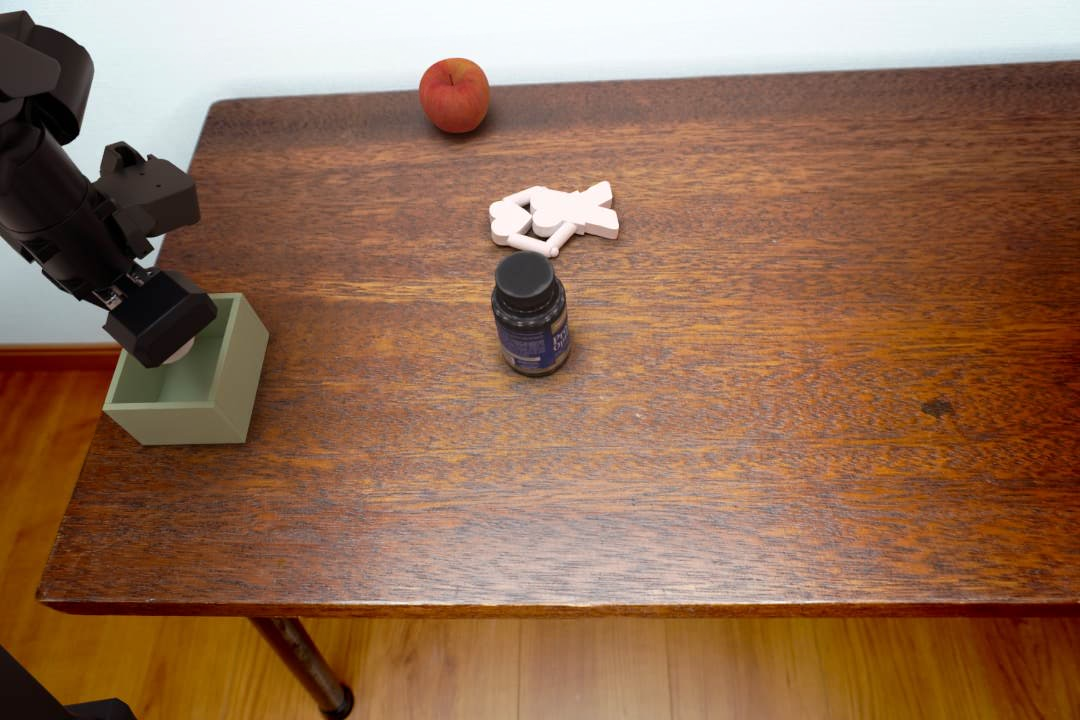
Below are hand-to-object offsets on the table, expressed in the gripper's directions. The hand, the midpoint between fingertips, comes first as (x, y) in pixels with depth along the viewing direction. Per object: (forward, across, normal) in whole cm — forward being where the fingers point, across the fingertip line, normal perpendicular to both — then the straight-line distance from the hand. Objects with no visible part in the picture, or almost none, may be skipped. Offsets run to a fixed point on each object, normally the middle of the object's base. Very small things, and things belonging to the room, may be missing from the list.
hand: (159, 333), depth 66 cm
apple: (+9, +4, -38) cm, 39 cm away
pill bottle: (+9, -21, -21) cm, 31 cm away
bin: (+9, 0, 0) cm, 9 cm away
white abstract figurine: (+9, -13, -33) cm, 37 cm away
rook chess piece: (+2, 0, 0) cm, 2 cm away
